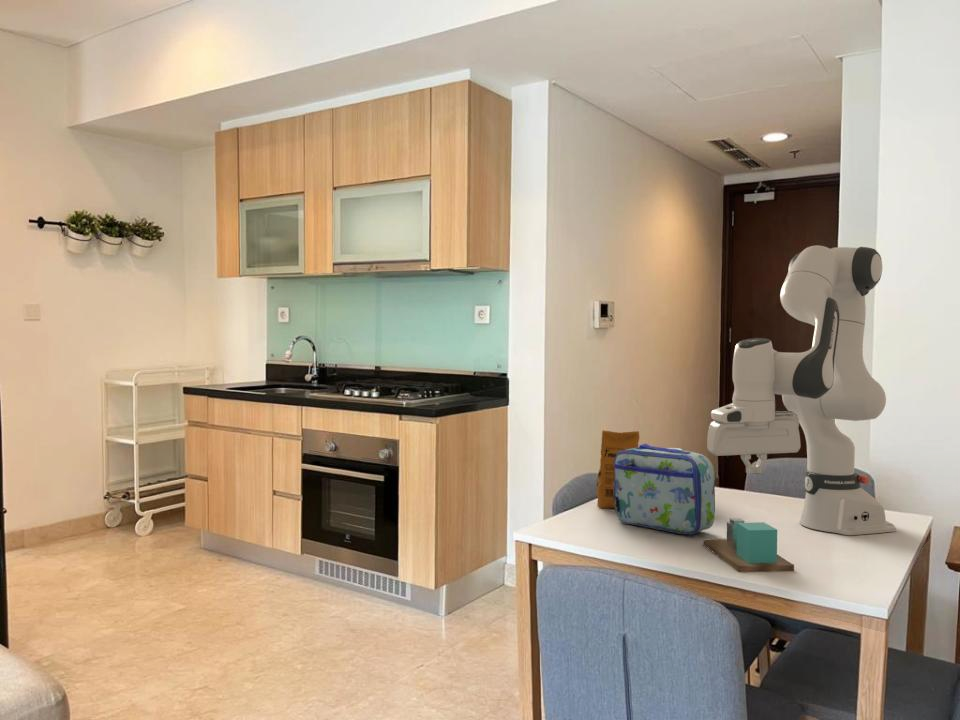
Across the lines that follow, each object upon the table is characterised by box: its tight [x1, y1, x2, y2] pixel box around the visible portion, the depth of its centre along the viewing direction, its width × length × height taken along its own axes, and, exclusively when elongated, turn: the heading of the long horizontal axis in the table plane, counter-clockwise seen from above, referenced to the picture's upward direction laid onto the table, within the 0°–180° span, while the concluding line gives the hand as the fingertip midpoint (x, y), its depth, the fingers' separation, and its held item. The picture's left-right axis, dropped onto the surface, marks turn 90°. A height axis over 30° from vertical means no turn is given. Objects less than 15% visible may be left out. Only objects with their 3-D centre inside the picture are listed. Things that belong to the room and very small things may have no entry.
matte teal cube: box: [736, 521, 778, 563], centre depth 161 cm, size 6×6×7 cm
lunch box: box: [613, 443, 716, 536], centre depth 191 cm, size 26×11×21 cm, turn 43°
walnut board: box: [702, 538, 795, 573], centre depth 166 cm, size 12×20×1 cm, turn 4°
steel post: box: [726, 517, 745, 548], centre depth 171 cm, size 3×3×6 cm
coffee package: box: [596, 429, 640, 509], centre depth 214 cm, size 10×12×22 cm
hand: (753, 473), depth 165 cm, fingers closed
